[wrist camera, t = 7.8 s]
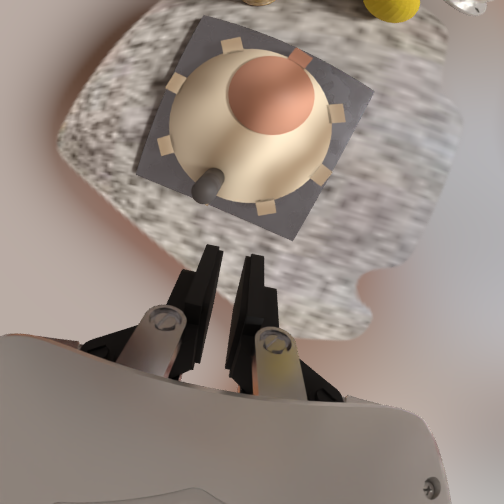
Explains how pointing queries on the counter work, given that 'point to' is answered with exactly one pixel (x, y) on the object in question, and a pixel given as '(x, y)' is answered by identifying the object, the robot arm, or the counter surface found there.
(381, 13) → the lemon
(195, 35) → the dial base
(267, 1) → the sprinkles bottle
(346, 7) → the counter surface
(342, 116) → the sprocket dial
